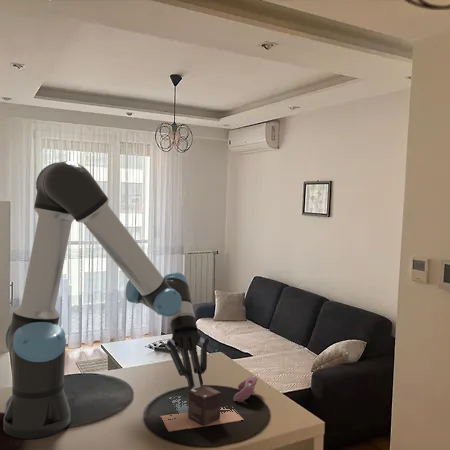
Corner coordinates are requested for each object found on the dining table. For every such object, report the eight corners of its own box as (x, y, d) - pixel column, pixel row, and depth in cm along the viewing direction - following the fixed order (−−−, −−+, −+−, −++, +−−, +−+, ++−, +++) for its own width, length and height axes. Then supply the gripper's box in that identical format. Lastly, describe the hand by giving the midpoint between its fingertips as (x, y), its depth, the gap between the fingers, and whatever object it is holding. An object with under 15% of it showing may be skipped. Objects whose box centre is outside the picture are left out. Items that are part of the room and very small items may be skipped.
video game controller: (245, 409, 130) (257, 389, 129) (231, 400, 131) (243, 380, 130) (250, 395, 140) (261, 376, 139) (237, 387, 140) (248, 367, 139)
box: (220, 420, 119) (221, 392, 119) (202, 427, 115) (204, 398, 115) (204, 411, 124) (206, 384, 123) (187, 417, 120) (188, 390, 119)
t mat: (151, 400, 129) (151, 399, 129) (218, 392, 137) (218, 391, 137) (168, 431, 112) (168, 430, 112) (243, 420, 120) (243, 419, 120)
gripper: (199, 325, 143) (217, 401, 129) (158, 328, 138) (171, 407, 124) (206, 312, 138) (225, 390, 124) (164, 315, 133) (178, 396, 119)
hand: (198, 398), depth 124 cm, fingers closed
